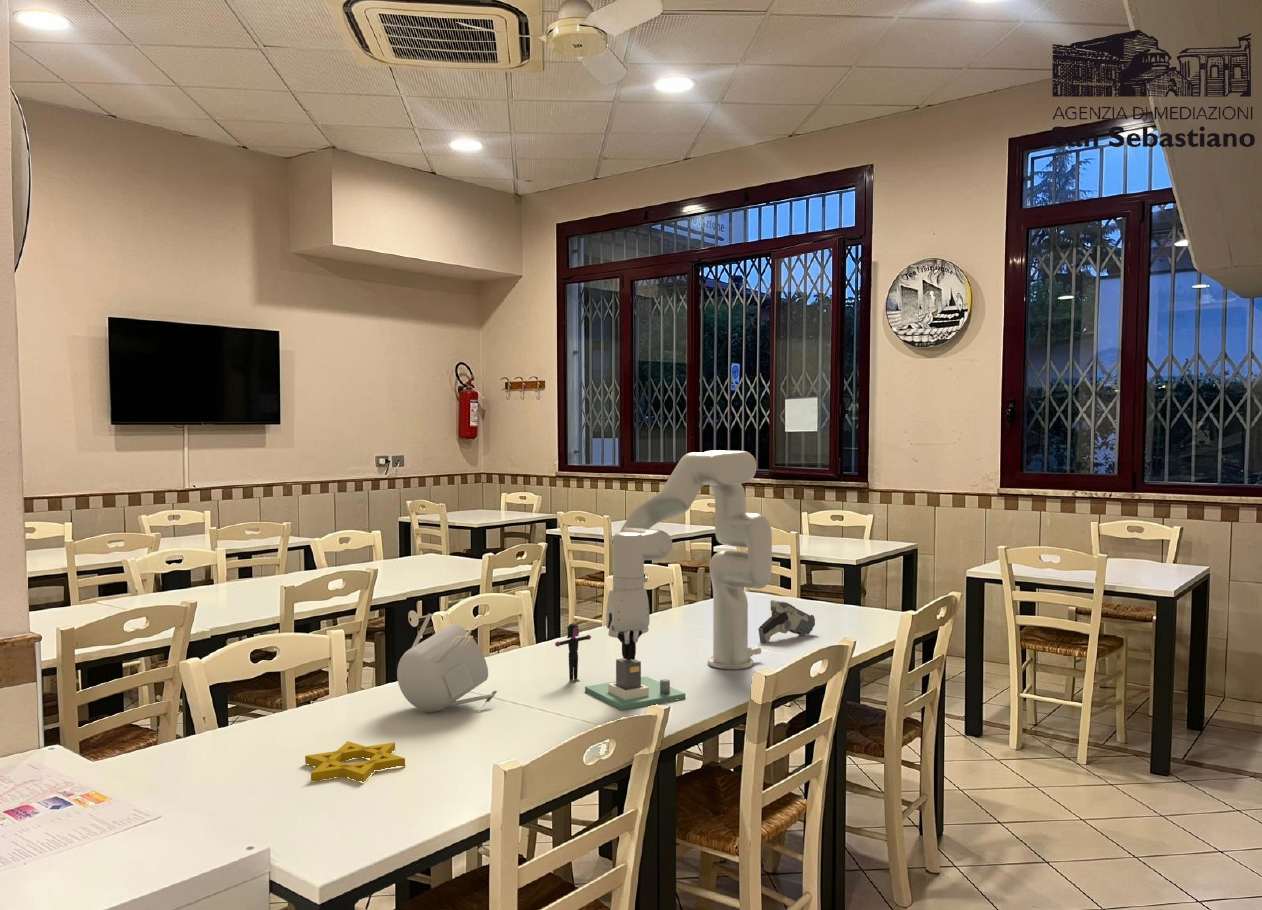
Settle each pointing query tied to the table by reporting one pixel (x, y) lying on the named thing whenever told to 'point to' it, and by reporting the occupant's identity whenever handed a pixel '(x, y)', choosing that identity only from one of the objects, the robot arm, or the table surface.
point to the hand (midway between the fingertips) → (628, 658)
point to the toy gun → (785, 621)
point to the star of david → (333, 766)
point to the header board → (636, 693)
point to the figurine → (573, 649)
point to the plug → (628, 674)
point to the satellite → (442, 668)
